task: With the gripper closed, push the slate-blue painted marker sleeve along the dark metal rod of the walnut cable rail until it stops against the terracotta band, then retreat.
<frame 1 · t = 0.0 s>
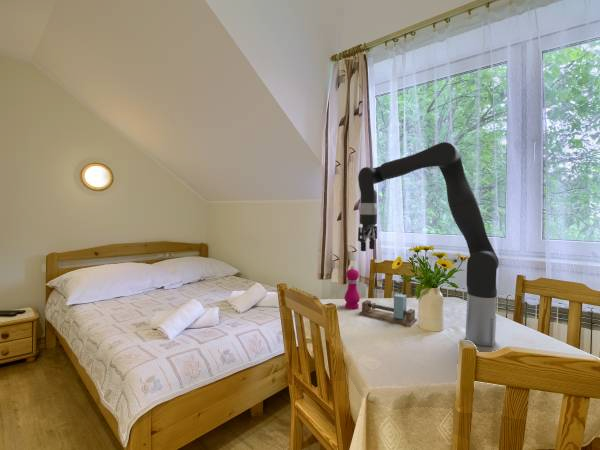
hand: (367, 250, 143), 29 cm above the table, fingers open, 8 cm apart
sleeve: (400, 306, 138), point 6 cm above the table, slide at 0.0 cm
pepper mill: (351, 307, 155), on the table
rail: (387, 317, 142), on the table
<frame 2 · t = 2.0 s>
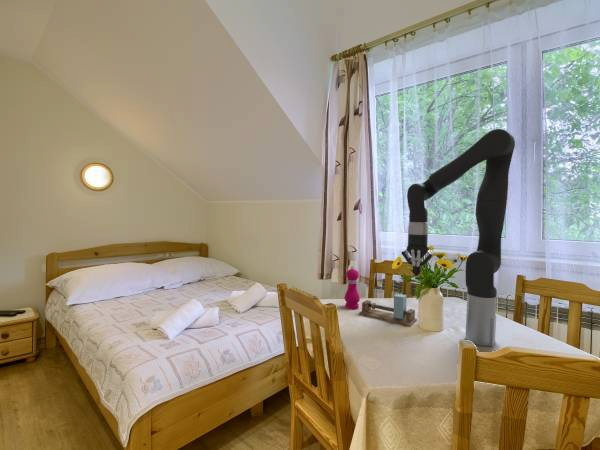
hand: (416, 275, 133), 21 cm above the table, fingers closed
nothing on the table moved.
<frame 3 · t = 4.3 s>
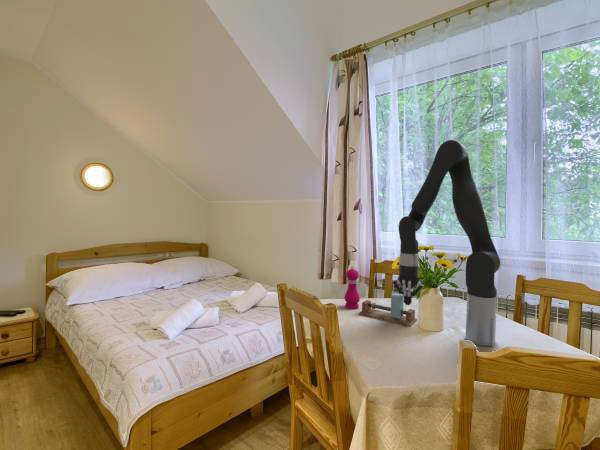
hand: (407, 304, 136), 8 cm above the table, fingers closed
sleeve: (397, 305, 139), point 6 cm above the table, slide at 1.2 cm, touching gripper
everything else where it was.
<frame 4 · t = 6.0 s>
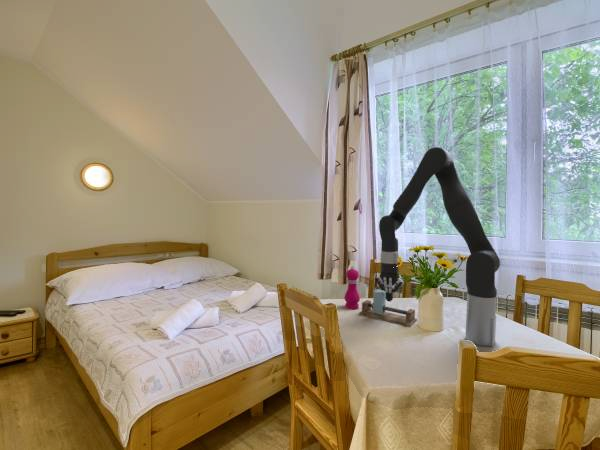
hand: (389, 300, 141), 8 cm above the table, fingers closed
sleeve: (379, 302, 143), point 6 cm above the table, slide at 9.3 cm, touching gripper
everything else where it was.
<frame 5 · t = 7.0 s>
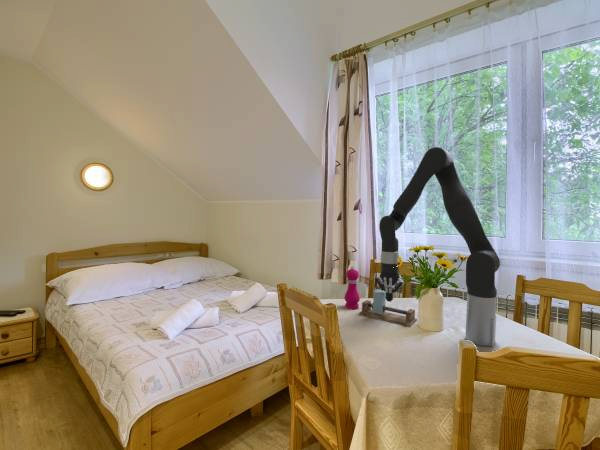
hand: (389, 300, 141), 8 cm above the table, fingers closed
sleeve: (379, 302, 143), point 6 cm above the table, slide at 9.3 cm
everything else where it was.
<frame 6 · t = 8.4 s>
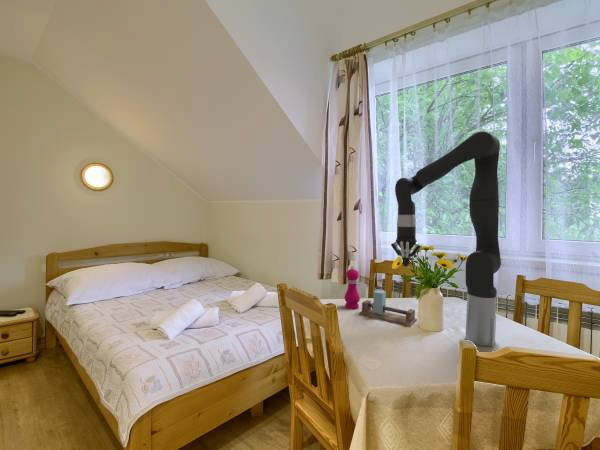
hand: (405, 266, 138), 23 cm above the table, fingers closed
nothing on the table moved.
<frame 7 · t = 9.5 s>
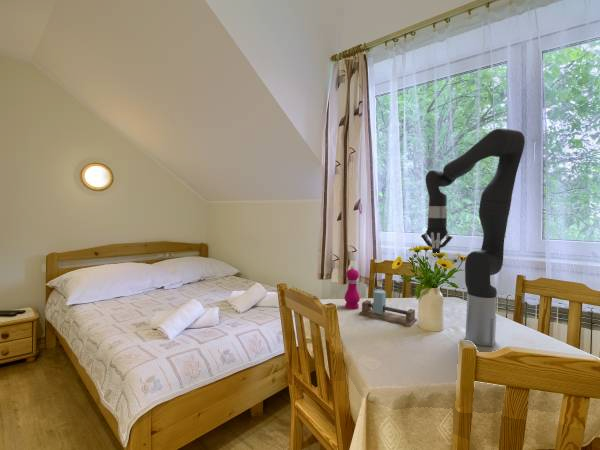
hand: (435, 256, 140), 27 cm above the table, fingers closed
nothing on the table moved.
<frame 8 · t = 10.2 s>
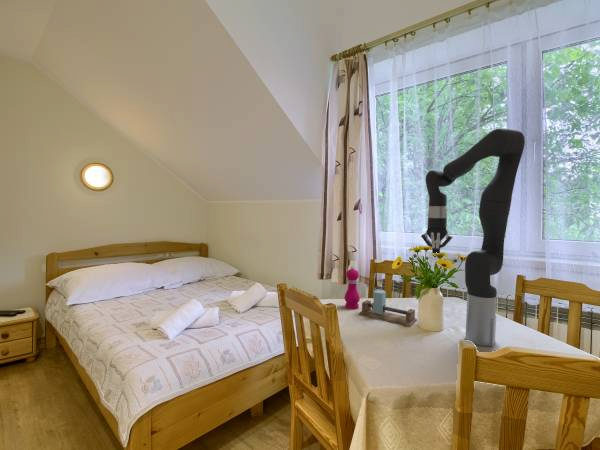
hand: (435, 256, 140), 27 cm above the table, fingers closed
nothing on the table moved.
at the end: sleeve slide at 9.2 cm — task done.
